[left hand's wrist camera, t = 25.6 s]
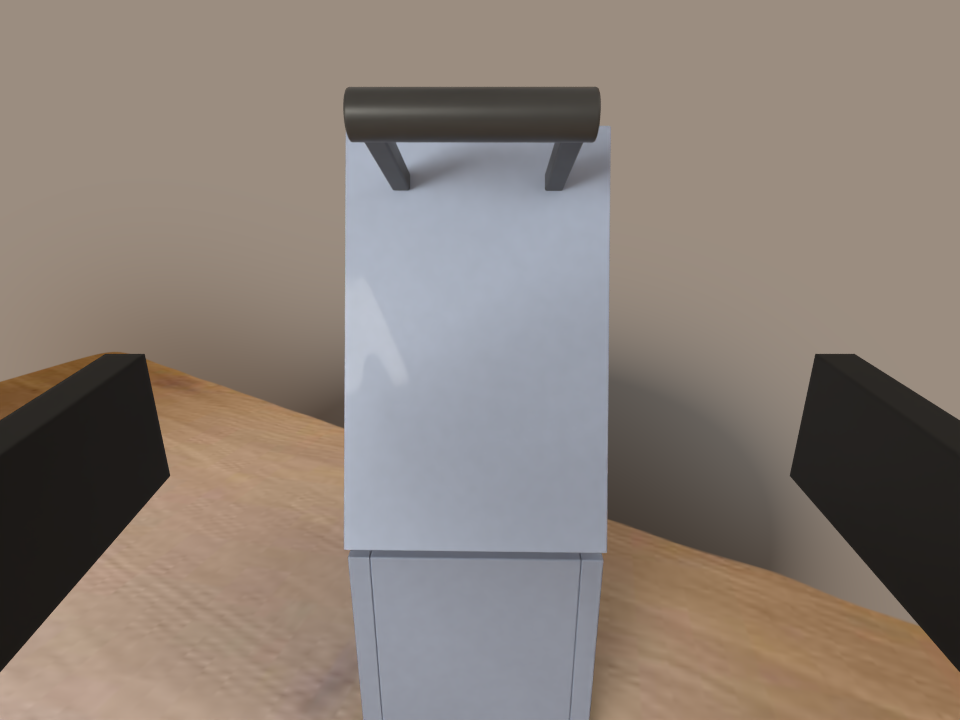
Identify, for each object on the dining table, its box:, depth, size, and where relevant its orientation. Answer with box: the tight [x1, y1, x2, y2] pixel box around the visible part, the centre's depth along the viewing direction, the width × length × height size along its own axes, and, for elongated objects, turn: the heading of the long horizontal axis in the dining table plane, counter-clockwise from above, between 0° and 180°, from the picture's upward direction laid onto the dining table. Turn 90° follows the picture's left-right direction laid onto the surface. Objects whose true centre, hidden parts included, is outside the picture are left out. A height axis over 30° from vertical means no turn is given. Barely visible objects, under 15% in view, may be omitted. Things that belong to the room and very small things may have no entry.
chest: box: [348, 550, 603, 720], centre depth 34 cm, size 16×10×10 cm, turn 179°
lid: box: [343, 87, 611, 553], centre depth 21 cm, size 16×10×8 cm
